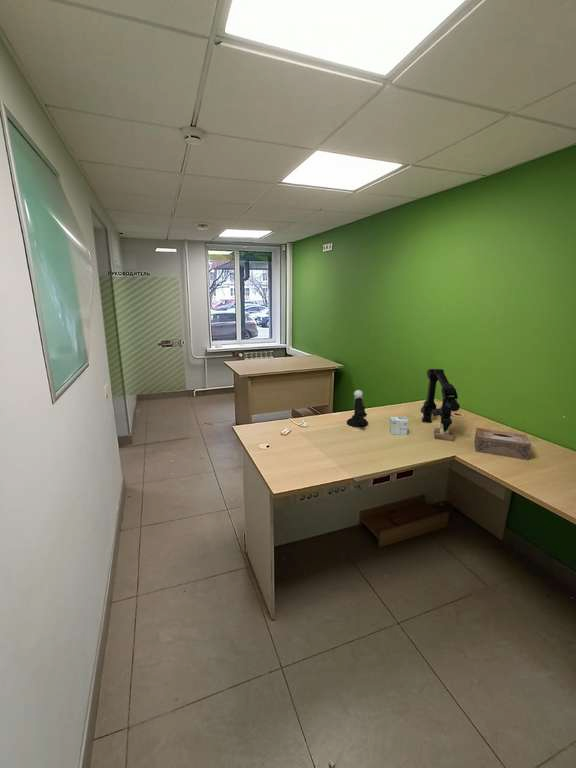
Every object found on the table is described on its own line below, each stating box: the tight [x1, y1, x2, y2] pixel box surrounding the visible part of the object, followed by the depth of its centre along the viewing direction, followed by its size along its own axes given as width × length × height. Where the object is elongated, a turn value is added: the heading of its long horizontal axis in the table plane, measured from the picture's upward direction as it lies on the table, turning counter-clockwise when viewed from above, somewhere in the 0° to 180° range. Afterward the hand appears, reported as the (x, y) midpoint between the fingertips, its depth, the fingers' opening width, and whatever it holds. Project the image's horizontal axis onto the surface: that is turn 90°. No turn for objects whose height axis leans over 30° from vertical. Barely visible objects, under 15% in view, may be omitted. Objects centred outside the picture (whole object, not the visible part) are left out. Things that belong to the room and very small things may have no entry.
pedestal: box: [433, 428, 455, 442], centre depth 217 cm, size 11×11×3 cm
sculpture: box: [346, 389, 369, 428], centre depth 234 cm, size 15×24×25 cm, turn 1°
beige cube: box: [439, 421, 450, 434], centre depth 216 cm, size 5×5×6 cm
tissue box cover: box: [473, 427, 532, 461], centre depth 197 cm, size 26×14×10 cm, turn 64°
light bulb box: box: [389, 416, 409, 436], centre depth 223 cm, size 11×7×11 cm, turn 84°
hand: (444, 428), depth 216 cm, fingers open, 9 cm apart
